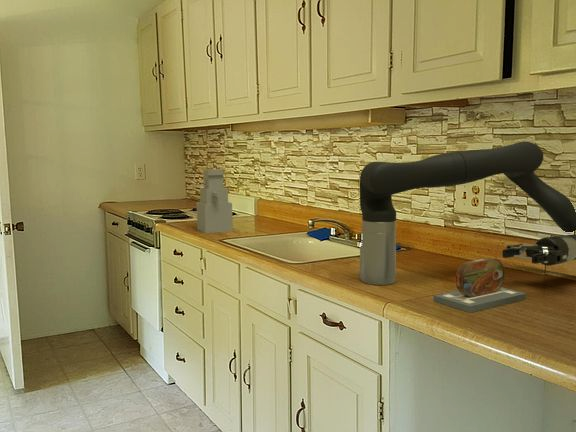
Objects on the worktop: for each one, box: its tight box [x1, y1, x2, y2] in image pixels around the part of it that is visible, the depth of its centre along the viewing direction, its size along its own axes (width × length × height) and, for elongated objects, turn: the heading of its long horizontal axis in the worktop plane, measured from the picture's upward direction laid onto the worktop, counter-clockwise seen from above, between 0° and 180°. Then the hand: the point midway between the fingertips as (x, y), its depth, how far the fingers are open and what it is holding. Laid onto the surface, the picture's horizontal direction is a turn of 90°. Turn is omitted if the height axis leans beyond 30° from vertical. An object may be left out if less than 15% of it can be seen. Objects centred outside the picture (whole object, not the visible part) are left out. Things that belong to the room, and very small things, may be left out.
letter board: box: [433, 286, 527, 314], centre depth 132 cm, size 11×20×2 cm, turn 121°
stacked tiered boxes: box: [196, 168, 234, 234], centre depth 250 cm, size 13×24×28 cm, turn 26°
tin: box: [455, 258, 506, 297], centre depth 132 cm, size 15×3×8 cm, turn 121°
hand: (518, 256), depth 138 cm, fingers open, 8 cm apart
